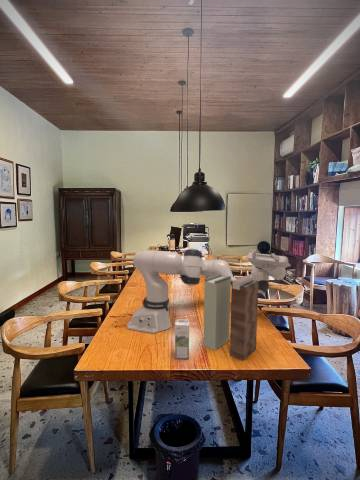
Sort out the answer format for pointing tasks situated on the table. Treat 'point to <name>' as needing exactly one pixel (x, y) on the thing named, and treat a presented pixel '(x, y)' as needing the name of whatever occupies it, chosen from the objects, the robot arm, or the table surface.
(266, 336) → the table surface
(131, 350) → the table surface
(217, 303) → the sage stand
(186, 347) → the syrup box
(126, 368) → the table surface
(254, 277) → the steel bar
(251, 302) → the walnut stand
